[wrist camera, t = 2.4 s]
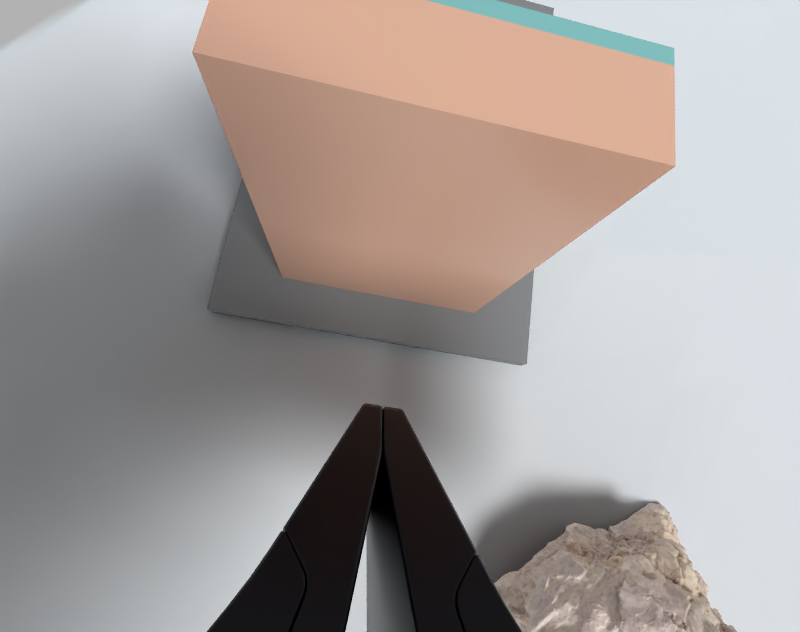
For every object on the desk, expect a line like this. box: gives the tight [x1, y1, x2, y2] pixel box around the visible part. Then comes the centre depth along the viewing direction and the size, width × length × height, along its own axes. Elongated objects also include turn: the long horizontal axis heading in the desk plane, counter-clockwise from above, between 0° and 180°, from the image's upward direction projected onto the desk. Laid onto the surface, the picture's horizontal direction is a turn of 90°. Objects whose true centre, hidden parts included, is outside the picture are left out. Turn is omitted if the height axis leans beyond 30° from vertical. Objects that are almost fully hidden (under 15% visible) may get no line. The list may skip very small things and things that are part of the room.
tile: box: [192, 0, 675, 313], centre depth 12 cm, size 2×8×11 cm, turn 81°
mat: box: [207, 0, 554, 365], centre depth 20 cm, size 19×13×1 cm
